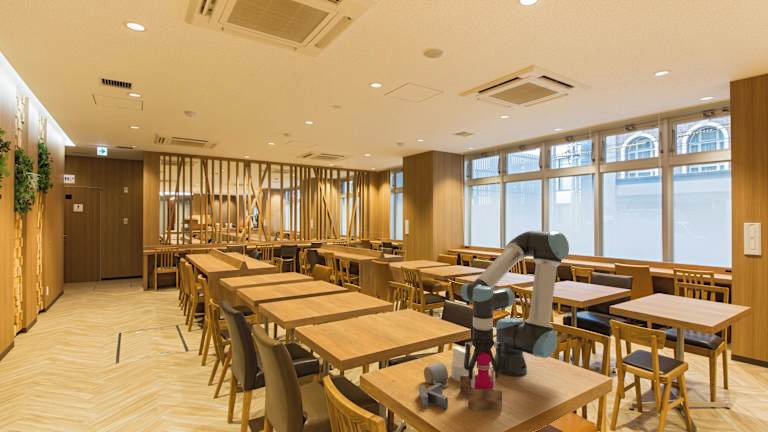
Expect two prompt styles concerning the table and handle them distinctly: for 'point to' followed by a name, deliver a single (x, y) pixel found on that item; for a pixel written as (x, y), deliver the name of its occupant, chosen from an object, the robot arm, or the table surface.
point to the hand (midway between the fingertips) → (483, 387)
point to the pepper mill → (483, 372)
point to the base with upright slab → (458, 363)
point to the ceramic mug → (436, 374)
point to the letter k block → (433, 396)
